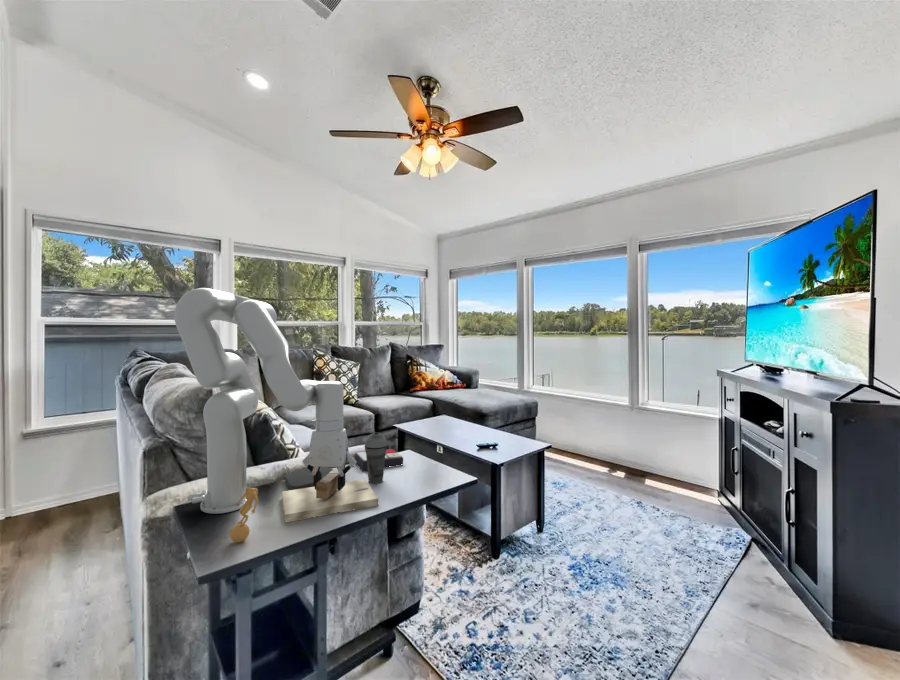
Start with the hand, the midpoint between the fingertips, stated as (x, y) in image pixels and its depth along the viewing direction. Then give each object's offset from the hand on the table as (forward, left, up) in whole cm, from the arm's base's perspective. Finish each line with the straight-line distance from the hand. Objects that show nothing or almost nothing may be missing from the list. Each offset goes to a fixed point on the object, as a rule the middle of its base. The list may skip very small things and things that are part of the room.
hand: (329, 487), depth 113 cm
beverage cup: (+16, +10, -4) cm, 19 cm away
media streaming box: (-3, +18, -5) cm, 19 cm away
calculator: (+22, +27, -5) cm, 35 cm away
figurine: (-21, -13, -4) cm, 25 cm away
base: (0, 0, -4) cm, 4 cm away
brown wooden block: (0, 0, -2) cm, 2 cm away
